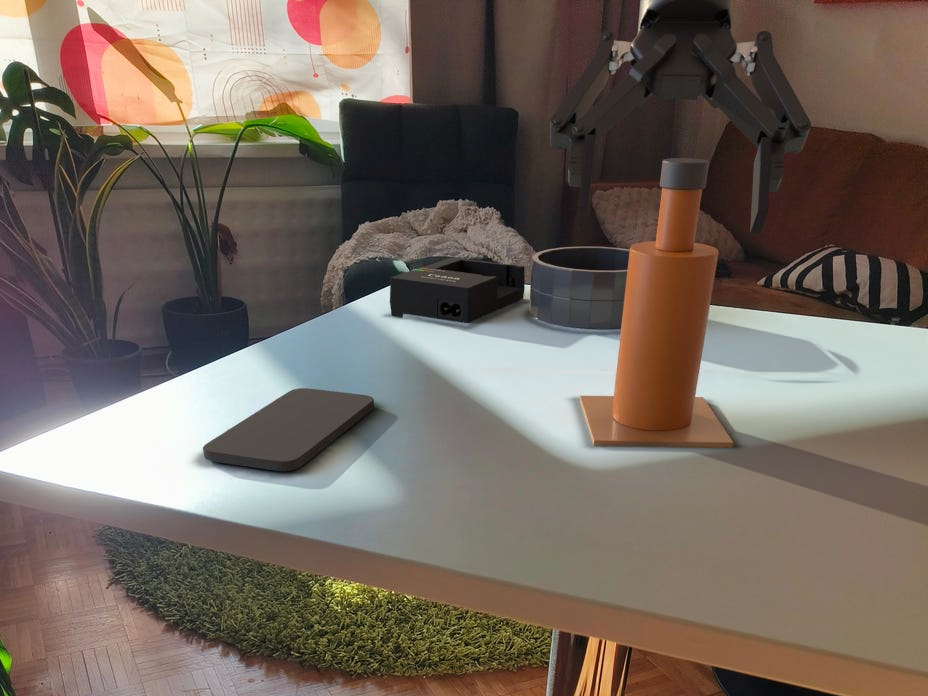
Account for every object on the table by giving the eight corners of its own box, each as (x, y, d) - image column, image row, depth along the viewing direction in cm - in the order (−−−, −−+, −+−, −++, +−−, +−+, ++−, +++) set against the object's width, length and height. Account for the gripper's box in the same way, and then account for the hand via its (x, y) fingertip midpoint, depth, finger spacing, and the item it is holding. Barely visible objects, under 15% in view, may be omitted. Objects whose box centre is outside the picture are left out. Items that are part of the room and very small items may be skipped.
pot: (643, 304, 100) (650, 247, 97) (664, 335, 89) (673, 272, 86) (526, 303, 101) (529, 246, 97) (533, 334, 90) (536, 271, 86)
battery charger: (467, 329, 91) (468, 288, 89) (389, 317, 95) (388, 277, 93) (524, 303, 100) (526, 265, 98) (450, 293, 104) (451, 256, 102)
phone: (379, 396, 71) (292, 463, 59) (379, 406, 71) (294, 475, 59) (295, 386, 73) (195, 449, 61) (296, 396, 73) (196, 461, 61)
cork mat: (702, 403, 72) (703, 396, 72) (732, 448, 64) (733, 442, 64) (579, 401, 73) (579, 395, 72) (593, 447, 64) (594, 440, 64)
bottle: (682, 404, 71) (721, 156, 61) (698, 431, 66) (743, 165, 56) (607, 403, 71) (633, 155, 61) (617, 430, 66) (647, 164, 56)
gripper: (829, 32, 76) (820, 255, 72) (537, 32, 79) (514, 245, 75) (858, -51, 69) (850, 191, 65) (536, -48, 72) (510, 184, 68)
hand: (669, 221), depth 70 cm, fingers open, 13 cm apart
